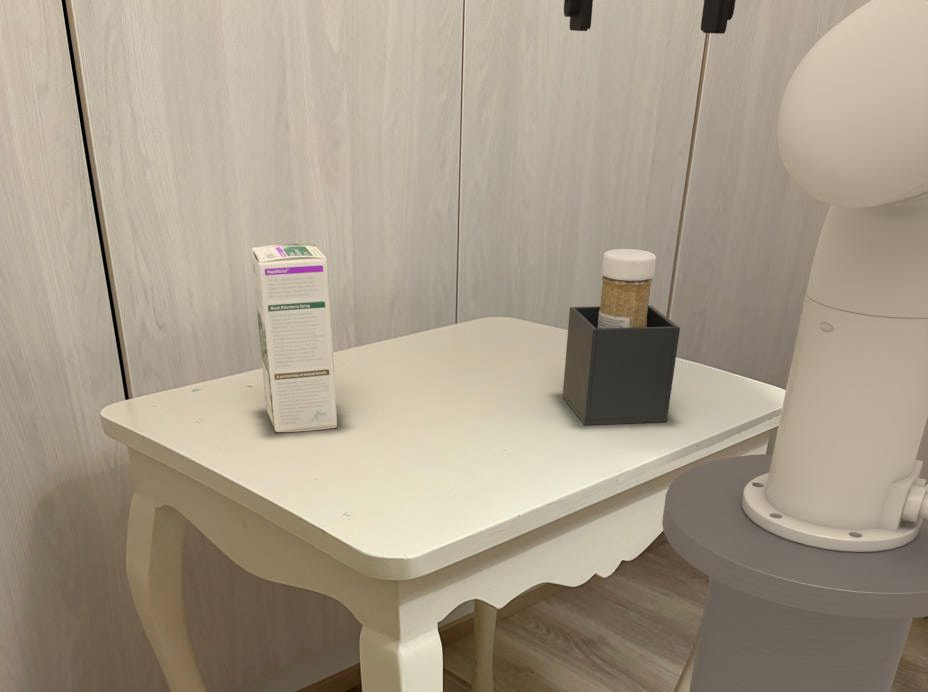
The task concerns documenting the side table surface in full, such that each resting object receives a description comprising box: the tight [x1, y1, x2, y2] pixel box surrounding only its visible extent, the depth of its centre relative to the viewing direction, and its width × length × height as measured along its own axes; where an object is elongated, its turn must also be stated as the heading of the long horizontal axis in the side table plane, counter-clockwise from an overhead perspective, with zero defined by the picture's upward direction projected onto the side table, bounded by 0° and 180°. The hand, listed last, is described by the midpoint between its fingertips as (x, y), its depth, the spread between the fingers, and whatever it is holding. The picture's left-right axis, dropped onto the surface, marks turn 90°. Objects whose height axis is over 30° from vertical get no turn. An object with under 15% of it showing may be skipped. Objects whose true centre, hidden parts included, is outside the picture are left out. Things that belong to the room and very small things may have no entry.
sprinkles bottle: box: [597, 248, 657, 329], centre depth 89 cm, size 5×5×14 cm
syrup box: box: [251, 243, 338, 433], centre depth 85 cm, size 6×6×14 cm
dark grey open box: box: [562, 304, 681, 426], centre depth 91 cm, size 8×8×8 cm
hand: (646, 31), depth 69 cm, fingers open, 9 cm apart
